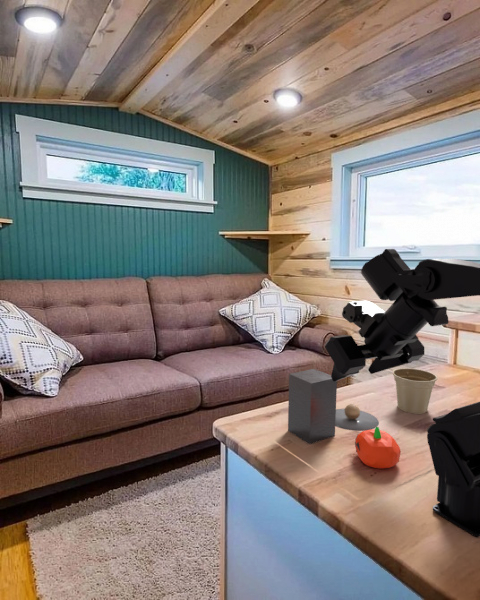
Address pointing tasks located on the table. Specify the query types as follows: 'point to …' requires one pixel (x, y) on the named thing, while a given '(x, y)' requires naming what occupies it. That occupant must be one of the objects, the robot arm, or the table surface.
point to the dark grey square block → (312, 405)
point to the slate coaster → (356, 421)
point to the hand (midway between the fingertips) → (351, 375)
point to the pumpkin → (377, 448)
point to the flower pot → (413, 389)
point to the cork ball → (352, 411)
